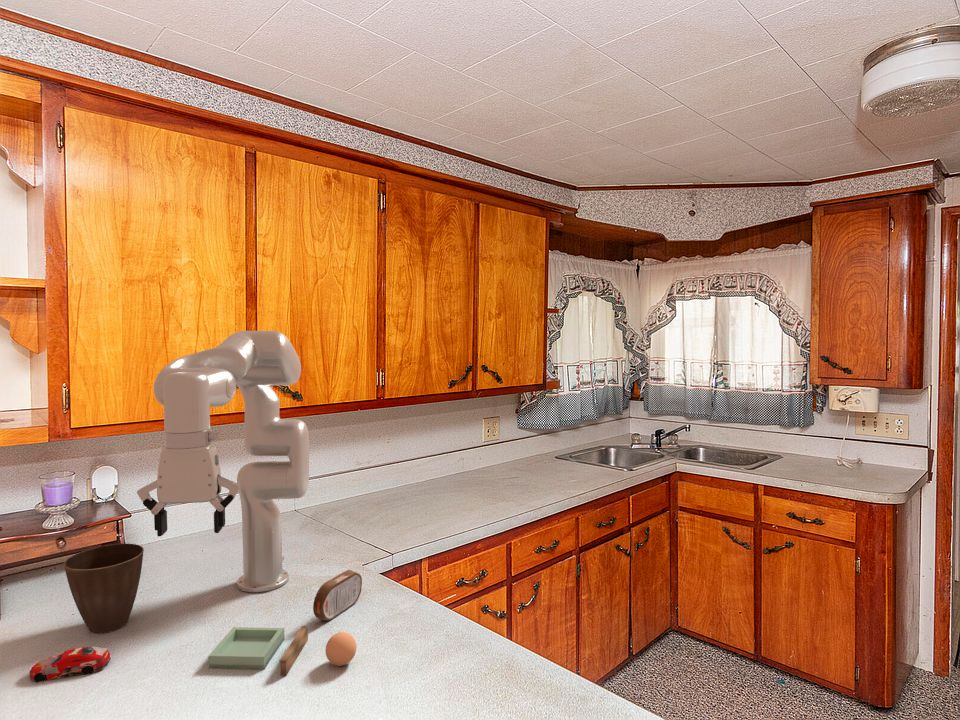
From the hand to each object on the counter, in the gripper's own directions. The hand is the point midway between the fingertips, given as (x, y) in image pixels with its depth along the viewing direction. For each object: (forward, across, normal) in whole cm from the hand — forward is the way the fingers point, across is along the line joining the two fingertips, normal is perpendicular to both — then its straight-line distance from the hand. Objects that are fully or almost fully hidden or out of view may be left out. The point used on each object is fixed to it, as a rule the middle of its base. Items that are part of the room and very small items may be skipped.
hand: (190, 532), depth 110 cm
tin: (+29, -25, -24) cm, 45 cm away
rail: (+29, -17, -7) cm, 34 cm away
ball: (+29, -26, -3) cm, 39 cm away
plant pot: (+29, +26, -27) cm, 47 cm away
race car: (+30, +25, -9) cm, 40 cm away
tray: (+29, -8, -10) cm, 31 cm away
